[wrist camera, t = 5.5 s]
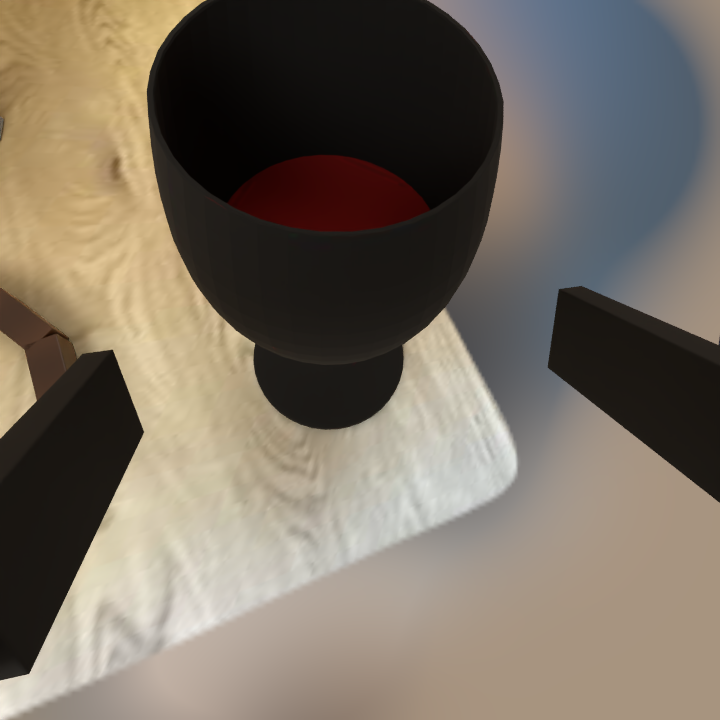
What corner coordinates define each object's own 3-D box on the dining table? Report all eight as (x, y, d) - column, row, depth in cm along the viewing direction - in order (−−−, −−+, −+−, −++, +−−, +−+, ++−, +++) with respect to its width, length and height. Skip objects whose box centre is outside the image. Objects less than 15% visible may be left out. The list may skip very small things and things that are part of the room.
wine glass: (304, 266, 31) (266, -95, 12) (428, 331, 30) (593, 47, 11) (222, 382, 28) (3, 133, 9) (358, 460, 27) (429, 361, 8)
